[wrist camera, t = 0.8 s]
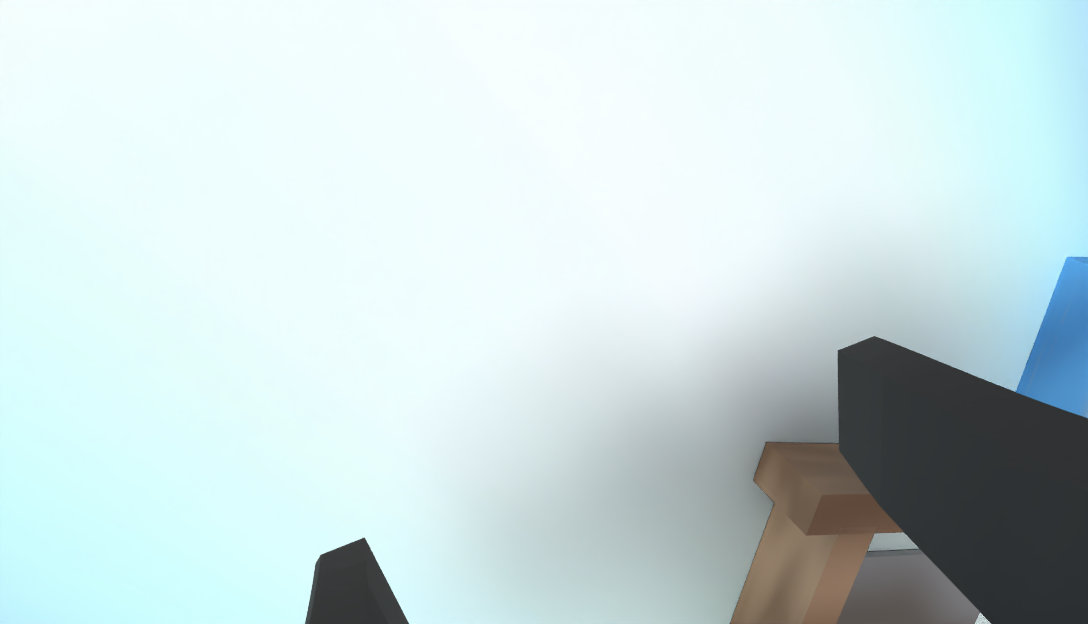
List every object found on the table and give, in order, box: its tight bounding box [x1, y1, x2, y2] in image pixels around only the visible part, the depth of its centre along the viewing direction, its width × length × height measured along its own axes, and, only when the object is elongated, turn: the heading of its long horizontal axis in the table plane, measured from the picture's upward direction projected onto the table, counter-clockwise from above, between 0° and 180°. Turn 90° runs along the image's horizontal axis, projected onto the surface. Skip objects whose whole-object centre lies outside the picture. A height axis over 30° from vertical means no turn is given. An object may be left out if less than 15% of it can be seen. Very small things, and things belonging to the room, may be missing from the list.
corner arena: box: [730, 442, 980, 624], centre depth 31 cm, size 13×18×3 cm
